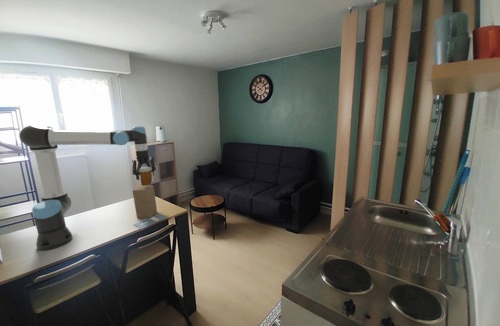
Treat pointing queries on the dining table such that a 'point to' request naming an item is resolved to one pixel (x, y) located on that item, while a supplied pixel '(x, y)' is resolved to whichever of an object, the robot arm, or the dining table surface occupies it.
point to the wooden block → (144, 201)
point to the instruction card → (149, 221)
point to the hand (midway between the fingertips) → (146, 182)
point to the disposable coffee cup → (145, 175)
